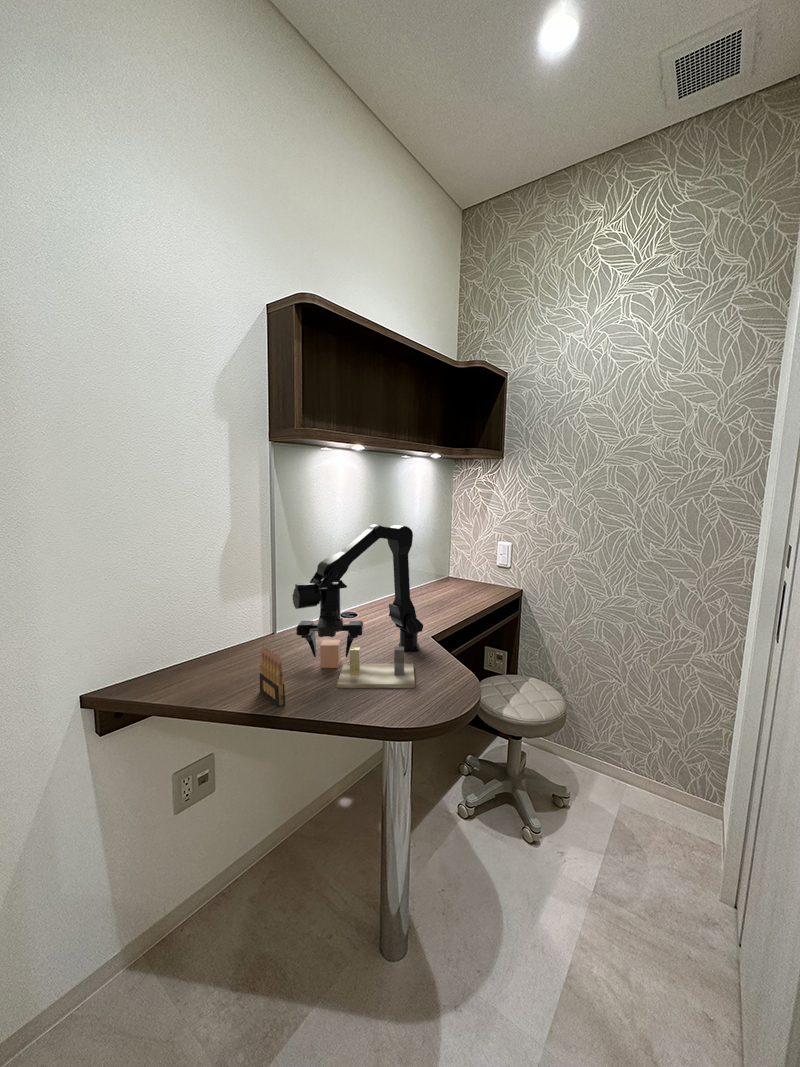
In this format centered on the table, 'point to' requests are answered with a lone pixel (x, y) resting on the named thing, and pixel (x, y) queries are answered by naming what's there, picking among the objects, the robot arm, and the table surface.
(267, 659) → the ammunition clip
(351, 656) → the post
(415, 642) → the robot arm
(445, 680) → the table surface
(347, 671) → the post board
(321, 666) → the peach rectangular block
